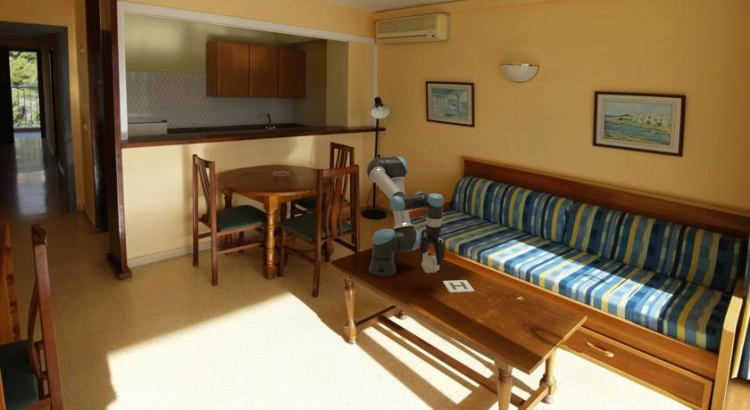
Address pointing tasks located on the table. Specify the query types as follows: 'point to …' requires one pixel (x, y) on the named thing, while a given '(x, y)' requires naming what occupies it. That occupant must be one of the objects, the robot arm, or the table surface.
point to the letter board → (458, 286)
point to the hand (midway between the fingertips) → (430, 267)
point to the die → (429, 264)
